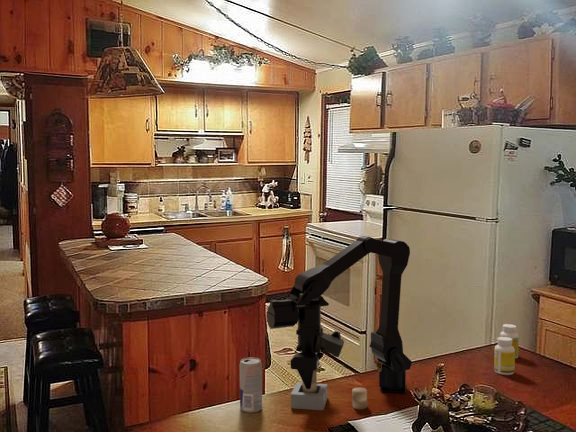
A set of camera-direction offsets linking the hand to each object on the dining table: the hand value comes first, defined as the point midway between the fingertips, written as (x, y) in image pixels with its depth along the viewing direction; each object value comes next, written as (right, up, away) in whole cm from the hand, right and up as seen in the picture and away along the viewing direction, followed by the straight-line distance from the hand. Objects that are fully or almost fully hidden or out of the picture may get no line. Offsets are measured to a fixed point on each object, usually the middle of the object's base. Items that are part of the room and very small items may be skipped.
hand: (309, 385), depth 141 cm
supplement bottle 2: (+56, -3, +21) cm, 60 cm away
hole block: (0, -4, 0) cm, 4 cm away
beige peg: (0, -2, 0) cm, 2 cm away
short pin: (+12, -4, -2) cm, 13 cm away
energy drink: (-14, -5, -3) cm, 15 cm away
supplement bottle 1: (+63, -2, +35) cm, 72 cm away
